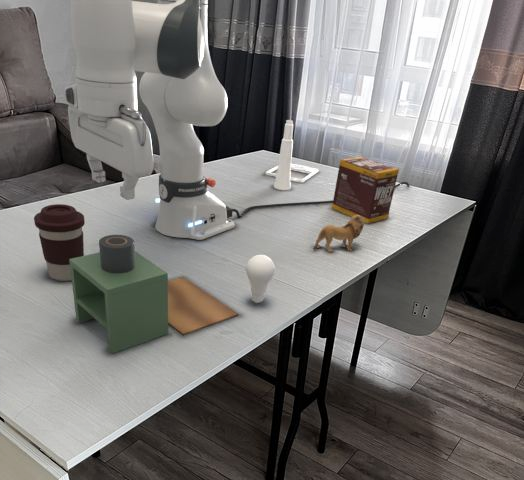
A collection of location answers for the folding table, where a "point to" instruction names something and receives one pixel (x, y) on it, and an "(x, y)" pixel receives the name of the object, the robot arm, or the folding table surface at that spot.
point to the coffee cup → (60, 238)
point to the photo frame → (297, 168)
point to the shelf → (121, 299)
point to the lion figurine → (342, 233)
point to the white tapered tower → (285, 159)
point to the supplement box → (364, 188)
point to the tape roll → (117, 253)
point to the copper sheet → (193, 307)
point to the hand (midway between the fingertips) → (113, 189)
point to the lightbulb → (259, 275)
